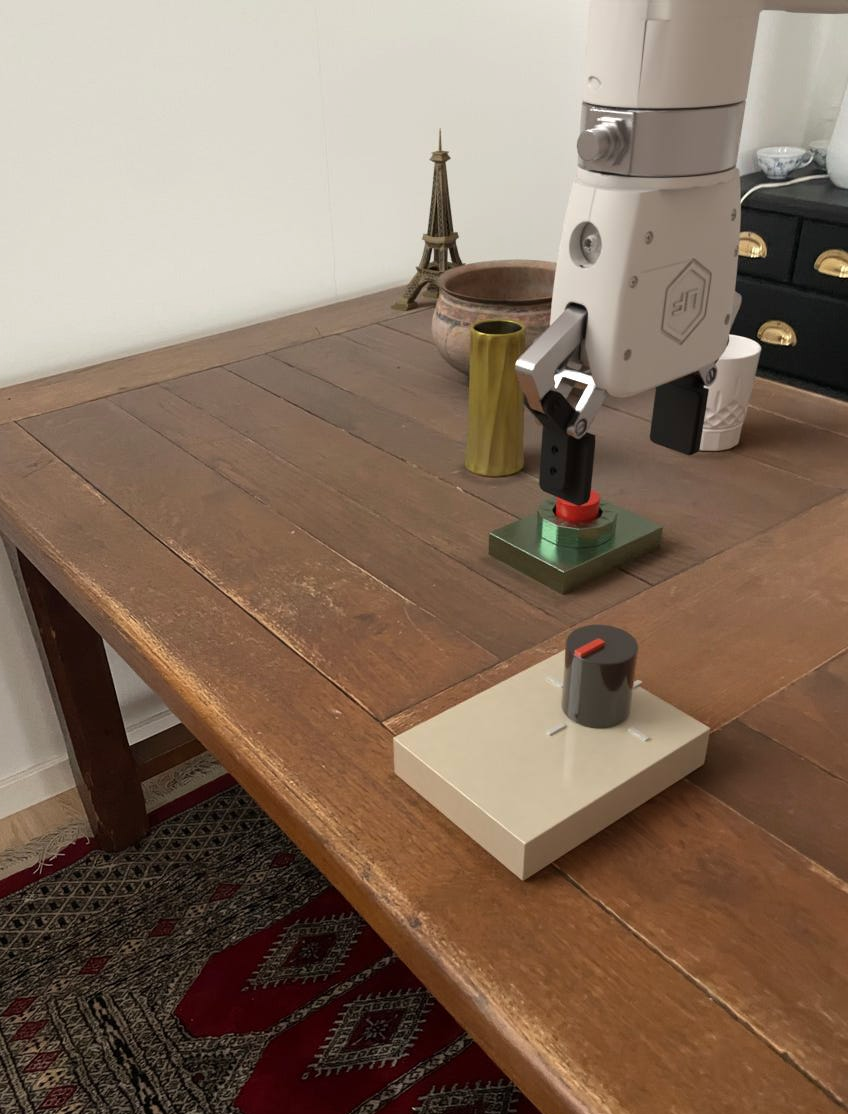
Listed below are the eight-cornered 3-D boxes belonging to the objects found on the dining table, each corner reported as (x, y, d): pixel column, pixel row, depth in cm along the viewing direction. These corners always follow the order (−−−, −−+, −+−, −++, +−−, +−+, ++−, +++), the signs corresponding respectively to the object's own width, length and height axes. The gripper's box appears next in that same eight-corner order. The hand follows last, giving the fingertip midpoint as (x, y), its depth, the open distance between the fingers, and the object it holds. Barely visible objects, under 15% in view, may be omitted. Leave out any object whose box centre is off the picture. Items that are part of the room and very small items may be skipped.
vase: (500, 483, 101) (505, 340, 94) (452, 467, 105) (452, 328, 97) (535, 462, 105) (543, 323, 97) (488, 448, 109) (491, 313, 101)
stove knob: (593, 679, 69) (600, 612, 66) (644, 709, 66) (654, 641, 63) (546, 704, 67) (551, 637, 64) (597, 737, 64) (604, 668, 61)
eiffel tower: (489, 300, 154) (494, 115, 140) (449, 318, 147) (449, 126, 133) (432, 290, 160) (431, 112, 146) (391, 308, 153) (385, 122, 139)
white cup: (655, 444, 108) (667, 351, 102) (683, 419, 113) (695, 329, 107) (730, 460, 104) (746, 363, 98) (755, 433, 109) (771, 340, 103)
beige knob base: (571, 678, 74) (574, 642, 72) (707, 762, 66) (714, 724, 64) (393, 773, 66) (392, 735, 65) (522, 881, 58) (525, 842, 56)
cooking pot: (400, 361, 133) (398, 264, 126) (532, 340, 137) (536, 245, 131) (481, 429, 113) (483, 318, 106) (631, 402, 118) (643, 294, 111)
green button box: (584, 513, 95) (587, 473, 93) (660, 548, 89) (665, 507, 87) (488, 554, 90) (489, 513, 87) (562, 595, 84) (565, 552, 81)
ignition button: (576, 501, 90) (577, 483, 89) (607, 515, 87) (609, 497, 86) (546, 514, 88) (547, 495, 87) (577, 528, 85) (579, 510, 84)
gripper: (601, 177, 42) (569, 542, 52) (827, 129, 51) (765, 448, 61) (474, 159, 47) (466, 495, 57) (700, 117, 56) (661, 415, 66)
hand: (620, 471), depth 59 cm, fingers open, 9 cm apart
